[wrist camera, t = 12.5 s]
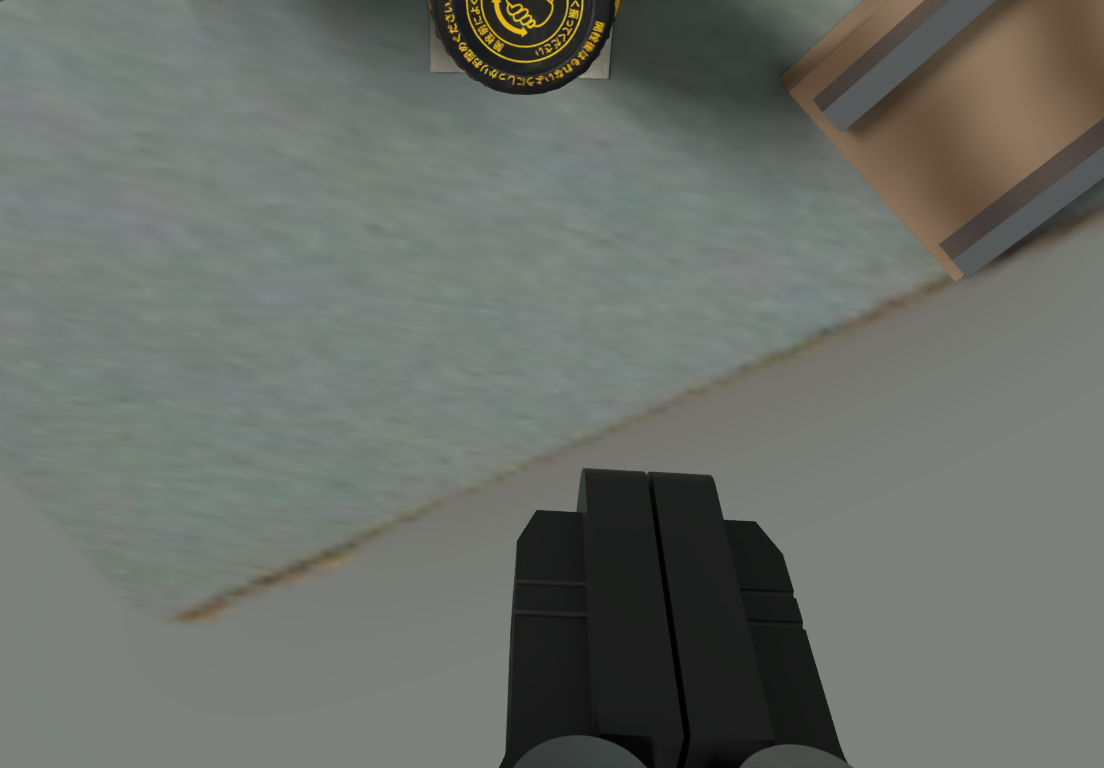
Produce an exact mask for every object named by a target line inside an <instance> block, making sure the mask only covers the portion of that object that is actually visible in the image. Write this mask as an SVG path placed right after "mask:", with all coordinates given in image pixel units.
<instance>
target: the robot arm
mask: <svg viewBox="0 0 1104 768" xmlns="http://www.w3.org/2000/svg"><path fill="white" fill-rule="evenodd" d="M514 577H515V578H514V590H513V603H512V618H511V631H510V653H509V678H508V680H509V681H508V704H507V705H508V706H507V729H506V751H505V752H506V753H505V757H504V759H503V761H502V763H501V765H500V767H499V768H853V767H852V766H850V765H849V764H848V763H847V761H846V759H845V757H844V755H843V752H842V749H841V747H840V744H839V740H838V737H837V734H836V731H835V727H834V724H833V721H832V717H831V714H830V710H829V707H828V704H827V700H826V697H825V694H824V690H823V687H822V684H821V680H820V677H819V674H818V670H817V667H816V664H815V661H814V657H813V654H812V650H811V647H810V643H809V640H808V637H807V633H806V630H803V620H802V617H801V613H800V610H799V607H798V603H797V600H796V598H794V596H793V592H794V590H793V587H792V583H791V580H790V577H789V573H788V570H787V567H786V563H785V560H784V557H783V554H782V553H781V552H780V550H779V549H778V548H777V547H776V546H775V544H774V543H773V542H772V541H771V540H770V538H769V537H768V536H767V535H766V534H765V532H764V531H763V530H762V529H761V528H760V526H759V525H758V524H757V523H756V522H754V521H736V520H724V519H723V515H722V511H721V507H720V502H719V498H718V494H717V490H716V485H715V482H714V479H713V477H712V476H711V475H700V474H683V473H666V472H648V474H647V476H646V473H645V472H643V471H625V470H624V471H623V470H607V469H589V468H583V469H582V473H581V478H580V486H579V494H578V503H577V511H576V512H563V511H544V510H536V512H535V513H534V515H533V517H532V518H531V520H530V521H529V523H528V525H527V526H526V528H525V529H524V531H523V532H522V534H521V535H520V537H519V539H518V540H517V550H516V563H515V576H514Z"/></svg>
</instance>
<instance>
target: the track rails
mask: <svg viewBox="0 0 1104 768" xmlns="http://www.w3.org/2000/svg"><path fill="white" fill-rule="evenodd" d="M995 1H996V0H924V1H923V2H922V3H921V4H919V5H918V6H917V7H916V8H915V9H914V10H913V11H912V12H910V13H909V14H908V15H907V16H906V17H905V18H904V19H903V20H901V21H900V22H899V23H898V24H897V25H896V26H895V27H894V28H892V29H891V30H890V31H889V32H888V33H887V34H886V35H885V36H883V37H882V38H881V39H880V40H879V41H878V42H877V43H876V44H874V45H873V46H872V47H871V48H870V49H869V50H868V51H867V52H866V53H864V54H863V55H862V56H861V57H860V58H859V59H858V60H857V61H855V62H854V63H853V64H852V65H851V66H850V67H849V68H848V69H846V70H845V71H844V72H843V73H842V74H841V75H840V76H839V77H837V78H836V79H835V80H834V81H833V82H832V83H831V84H830V85H828V86H827V87H826V88H825V89H824V90H823V91H822V92H821V93H819V94H818V95H817V96H816V97H815V98H814V99H813V101H814V102H815V103H816V105H817V106H818V107H819V108H820V110H821V111H822V112H823V113H824V115H825V116H826V117H827V118H828V119H829V120H830V121H831V123H832V124H833V125H834V126H835V127H836V128H837V129H838V131H839V132H840V133H842V132H844V131H845V130H846V129H847V128H848V127H849V126H850V125H852V124H853V123H854V122H855V121H856V120H857V119H859V118H860V117H861V116H862V115H863V114H864V113H866V112H867V111H868V110H869V109H870V108H871V107H873V106H874V105H875V104H876V103H877V102H878V101H880V100H881V99H882V98H883V97H884V96H885V95H887V94H888V93H889V92H890V91H891V90H892V89H893V88H895V87H896V86H897V85H898V84H899V83H900V82H902V81H903V80H904V79H905V78H906V77H907V76H909V75H910V74H911V73H912V72H913V71H914V70H916V69H917V68H918V67H919V66H920V65H921V64H923V63H924V62H925V61H926V60H927V59H928V58H930V57H931V56H932V55H933V54H934V53H935V52H936V51H938V50H939V49H940V48H941V47H942V46H943V45H945V44H946V43H947V42H948V41H949V40H950V39H952V38H953V37H954V36H955V35H956V34H957V33H959V32H960V31H961V30H962V29H963V28H964V27H966V26H967V25H968V24H969V23H970V22H971V21H973V20H974V19H975V18H976V17H977V16H978V15H979V14H981V13H982V12H983V11H984V10H985V9H986V8H988V7H989V6H990V5H991V4H992V3H993V2H995ZM1103 178H1104V118H1103V119H1101V120H1100V121H1099V122H1098V123H1096V124H1095V125H1094V126H1092V127H1091V128H1090V129H1088V130H1087V131H1086V132H1085V133H1083V134H1082V135H1081V136H1079V137H1078V138H1077V139H1075V140H1074V141H1073V142H1071V143H1070V144H1069V145H1068V146H1066V147H1065V148H1064V149H1062V150H1061V151H1060V152H1058V153H1057V154H1056V155H1054V156H1053V157H1052V158H1051V159H1049V160H1048V161H1047V162H1045V163H1044V164H1043V165H1041V166H1040V167H1039V168H1038V169H1036V170H1035V171H1034V172H1032V173H1031V174H1030V175H1028V176H1027V177H1026V178H1024V179H1023V180H1022V181H1021V182H1019V183H1018V184H1017V185H1015V186H1014V187H1013V188H1011V189H1010V190H1009V191H1008V192H1006V193H1005V194H1004V195H1002V196H1001V197H1000V198H998V199H997V200H996V201H994V202H993V203H992V204H991V205H989V206H988V207H987V208H985V209H984V210H983V211H981V212H980V213H979V214H977V215H976V216H975V217H974V218H972V219H971V220H970V221H968V222H967V223H966V224H964V225H963V226H962V227H961V228H959V229H958V230H957V231H955V232H954V233H953V234H951V235H950V236H949V237H947V238H946V239H945V240H944V241H942V242H941V243H940V244H939V245H940V247H941V248H942V249H943V250H944V251H945V253H946V254H947V255H948V256H949V258H950V259H951V260H952V261H953V262H954V263H955V265H956V266H957V267H958V268H959V269H960V270H961V271H962V273H963V274H964V275H965V276H966V277H967V278H969V277H970V276H971V275H973V274H974V273H975V272H977V271H978V270H979V269H981V268H982V267H984V266H985V265H986V264H988V263H989V262H990V261H992V260H993V259H994V258H996V257H997V256H998V255H1000V254H1001V253H1002V252H1004V251H1005V250H1006V249H1008V248H1009V247H1011V246H1012V245H1013V244H1015V243H1016V242H1017V241H1019V240H1020V239H1021V238H1023V237H1024V236H1025V235H1027V234H1028V233H1029V232H1031V231H1032V230H1034V229H1035V228H1036V227H1038V226H1039V225H1040V224H1042V223H1043V222H1044V221H1046V220H1047V219H1048V218H1050V217H1051V216H1052V215H1054V214H1055V213H1057V212H1058V211H1059V210H1061V209H1062V208H1063V207H1065V206H1066V205H1067V204H1069V203H1070V202H1071V201H1073V200H1074V199H1075V198H1077V197H1078V196H1080V195H1081V194H1082V193H1084V192H1085V191H1086V190H1088V189H1089V188H1090V187H1092V186H1093V185H1094V184H1096V183H1097V182H1098V181H1100V180H1101V179H1103Z"/></svg>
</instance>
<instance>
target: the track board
mask: <svg viewBox="0 0 1104 768" xmlns="http://www.w3.org/2000/svg"><path fill="white" fill-rule="evenodd" d="M923 1H924V0H863V1H862V2H861V3H860V4H859V5H858V6H857V7H856V8H855V9H854V10H852V11H851V12H850V13H849V14H848V15H847V16H846V17H845V18H844V19H843V20H842V21H840V22H839V23H838V24H837V25H836V26H835V27H834V28H833V29H832V30H831V31H830V32H828V33H827V34H826V35H825V36H824V37H823V38H822V39H821V40H820V41H819V42H818V43H816V44H815V45H814V46H813V47H812V48H811V49H810V50H809V51H808V52H807V53H806V54H804V55H803V56H802V57H801V58H800V59H799V60H798V61H797V62H796V63H795V64H794V65H793V66H791V67H790V68H789V69H788V70H787V71H786V72H785V73H784V74H783V75H782V76H781V77H779V78H778V79H779V81H780V82H781V83H782V85H783V86H784V87H785V89H786V90H787V92H788V93H789V94H790V95H791V96H792V97H793V99H794V100H795V101H796V102H797V103H798V104H799V105H800V106H801V108H802V109H803V110H804V111H805V112H806V113H807V114H808V116H809V117H810V118H811V119H812V120H813V121H814V122H815V123H816V125H817V126H818V127H819V128H820V129H821V130H822V131H823V133H824V134H825V135H826V136H827V137H828V138H829V139H830V140H831V142H832V143H833V144H834V145H835V146H836V147H837V148H838V150H839V151H840V152H841V153H842V154H843V155H844V156H845V157H846V159H847V160H848V161H849V162H850V163H851V164H852V165H853V167H854V168H855V169H856V170H857V171H858V172H859V173H860V174H861V176H862V177H863V178H864V179H865V180H866V181H867V182H868V183H869V185H870V186H871V187H872V188H873V189H874V190H875V191H876V193H877V194H878V195H879V196H880V197H881V198H882V199H883V200H884V202H885V203H886V204H887V205H888V206H889V207H890V208H891V210H892V211H893V212H894V213H895V214H896V215H897V216H898V217H899V219H900V220H901V221H902V222H903V223H904V224H905V225H906V227H907V228H908V229H909V230H910V231H911V232H912V233H913V234H914V236H915V237H916V238H917V239H918V240H919V241H920V242H921V244H922V245H923V246H924V247H925V248H926V249H927V250H928V251H929V253H930V254H931V255H932V256H933V257H934V258H935V259H936V261H937V262H938V263H939V264H940V265H941V266H942V267H943V268H944V270H945V271H946V272H947V273H948V274H949V275H950V276H951V277H952V279H953V280H954V281H955V282H956V281H957V280H958V279H960V278H961V277H962V276H964V274H963V273H962V271H961V270H960V269H959V268H958V267H957V266H956V265H955V263H954V262H953V261H952V260H951V259H950V258H949V256H948V255H947V254H946V253H945V251H944V250H943V249H942V248H941V247H940V245H939V244H940V243H941V242H942V241H944V240H945V239H946V238H947V237H949V236H950V235H951V234H953V233H954V232H955V231H957V230H958V229H959V228H961V227H962V226H963V225H964V224H966V223H967V222H968V221H970V220H971V219H972V218H974V217H975V216H976V215H977V214H979V213H980V212H981V211H983V210H984V209H985V208H987V207H988V206H989V205H991V204H992V203H993V202H994V201H996V200H997V199H998V198H1000V197H1001V196H1002V195H1004V194H1005V193H1006V192H1008V191H1009V190H1010V189H1011V188H1013V187H1014V186H1015V185H1017V184H1018V183H1019V182H1021V181H1022V180H1023V179H1024V178H1026V177H1027V176H1028V175H1030V174H1031V173H1032V172H1034V171H1035V170H1036V169H1038V168H1039V167H1040V166H1041V165H1043V164H1044V163H1045V162H1047V161H1048V160H1049V159H1051V158H1052V157H1053V156H1054V155H1056V154H1057V153H1058V152H1060V151H1061V150H1062V149H1064V148H1065V147H1066V146H1068V145H1069V144H1070V143H1071V142H1073V141H1074V140H1075V139H1077V138H1078V137H1079V136H1081V135H1082V134H1083V133H1085V132H1086V131H1087V130H1088V129H1090V128H1091V127H1092V126H1094V125H1095V124H1096V123H1098V122H1099V121H1100V120H1101V119H1103V118H1104V0H996V1H995V2H993V3H992V4H991V5H990V6H989V7H988V8H986V9H985V10H984V11H983V12H982V13H981V14H979V15H978V16H977V17H976V18H975V19H974V20H973V21H971V22H970V23H969V24H968V25H967V26H966V27H964V28H963V29H962V30H961V31H960V32H959V33H957V34H956V35H955V36H954V37H953V38H952V39H950V40H949V41H948V42H947V43H946V44H945V45H943V46H942V47H941V48H940V49H939V50H938V51H936V52H935V53H934V54H933V55H932V56H931V57H930V58H928V59H927V60H926V61H925V62H924V63H923V64H921V65H920V66H919V67H918V68H917V69H916V70H914V71H913V72H912V73H911V74H910V75H909V76H907V77H906V78H905V79H904V80H903V81H902V82H900V83H899V84H898V85H897V86H896V87H895V88H893V89H892V90H891V91H890V92H889V93H888V94H887V95H885V96H884V97H883V98H882V99H881V100H880V101H878V102H877V103H876V104H875V105H874V106H873V107H871V108H870V109H869V110H868V111H867V112H866V113H864V114H863V115H862V116H861V117H860V118H859V119H857V120H856V121H855V122H854V123H853V124H852V125H850V126H849V127H848V128H847V129H846V130H845V131H844V132H842V133H840V132H839V131H838V129H837V128H836V127H835V126H834V125H833V124H832V123H831V121H830V120H829V119H828V118H827V117H826V116H825V115H824V113H823V112H822V111H821V110H820V108H819V107H818V106H817V105H816V103H815V102H814V101H813V99H814V98H815V97H816V96H817V95H818V94H819V93H821V92H822V91H823V90H824V89H825V88H826V87H827V86H828V85H830V84H831V83H832V82H833V81H834V80H835V79H836V78H837V77H839V76H840V75H841V74H842V73H843V72H844V71H845V70H846V69H848V68H849V67H850V66H851V65H852V64H853V63H854V62H855V61H857V60H858V59H859V58H860V57H861V56H862V55H863V54H864V53H866V52H867V51H868V50H869V49H870V48H871V47H872V46H873V45H874V44H876V43H877V42H878V41H879V40H880V39H881V38H882V37H883V36H885V35H886V34H887V33H888V32H889V31H890V30H891V29H892V28H894V27H895V26H896V25H897V24H898V23H899V22H900V21H901V20H903V19H904V18H905V17H906V16H907V15H908V14H909V13H910V12H912V11H913V10H914V9H915V8H916V7H917V6H918V5H919V4H921V3H922V2H923Z"/></svg>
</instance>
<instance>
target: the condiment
mask: <svg viewBox="0 0 1104 768" xmlns="http://www.w3.org/2000/svg"><path fill="white" fill-rule="evenodd" d="M428 2H429V12H430V20H429V21H430V68H431V72H463V73H467V75H468V76H469V77H470V78H472V79H474V80H475V81H479V82H481V83H482V84H483V85H484V86H486V87H489V88H491V89H493V90H496V91H500V92H504V93H509V94H518V95H532V94H542V93H546V92H548V91H552V90H555V89H559V88H561V87H563V86H564V85H566V84H567V83H569V82H571V81H572V80H574V79H575V78H577V77H580V78H595V79H608V76H609V64H610V51H611V38H612V27H613V22H614V21H615V18H616V15H617V12H618V10H619V7H620V2H621V0H428Z"/></svg>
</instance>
